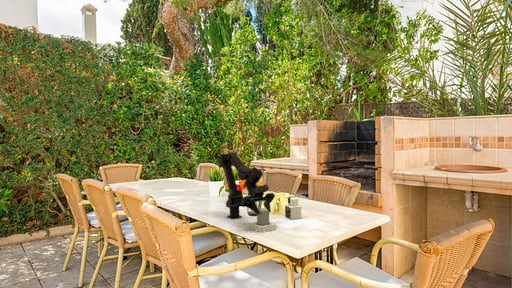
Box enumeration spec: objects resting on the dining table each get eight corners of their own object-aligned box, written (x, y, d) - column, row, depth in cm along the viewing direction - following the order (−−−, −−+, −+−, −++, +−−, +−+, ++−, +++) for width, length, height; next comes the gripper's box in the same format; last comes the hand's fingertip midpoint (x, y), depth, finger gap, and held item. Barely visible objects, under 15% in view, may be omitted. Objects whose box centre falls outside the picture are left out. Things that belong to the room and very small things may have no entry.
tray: (251, 228, 182) (250, 223, 182) (265, 225, 187) (265, 220, 187) (260, 232, 174) (260, 227, 174) (275, 229, 179) (275, 224, 179)
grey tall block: (257, 227, 181) (257, 209, 181) (264, 225, 184) (264, 208, 183) (262, 229, 178) (261, 211, 177) (269, 227, 180) (269, 209, 180)
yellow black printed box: (284, 216, 205) (284, 196, 205) (295, 215, 208) (295, 195, 207) (290, 219, 199) (290, 198, 198) (301, 218, 201) (301, 197, 201)
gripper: (243, 181, 178) (255, 206, 169) (272, 178, 188) (285, 201, 179) (235, 194, 185) (246, 219, 176) (264, 190, 195) (276, 213, 186)
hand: (264, 213), depth 179 cm, fingers open, 7 cm apart
